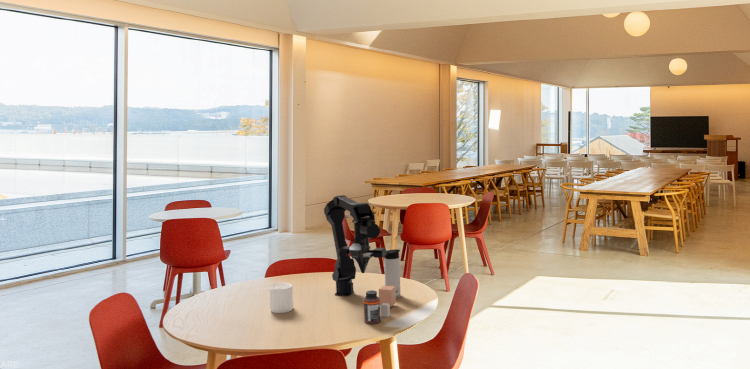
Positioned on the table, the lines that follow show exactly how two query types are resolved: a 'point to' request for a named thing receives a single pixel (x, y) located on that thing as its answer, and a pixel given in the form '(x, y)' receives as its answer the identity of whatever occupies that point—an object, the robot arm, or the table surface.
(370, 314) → the supplement bottle
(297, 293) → the table surface
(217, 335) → the table surface
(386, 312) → the white block
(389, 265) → the travel mug
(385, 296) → the pink foam cube
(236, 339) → the table surface
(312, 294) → the table surface
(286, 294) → the cup
